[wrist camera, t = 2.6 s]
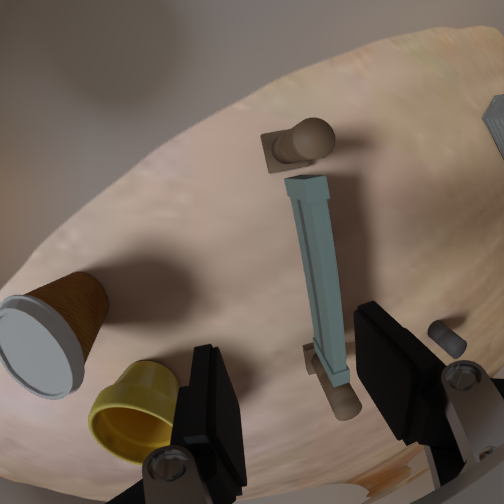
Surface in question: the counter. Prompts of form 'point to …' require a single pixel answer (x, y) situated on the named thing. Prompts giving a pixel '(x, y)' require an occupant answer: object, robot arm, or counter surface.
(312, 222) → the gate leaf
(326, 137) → the gate posts
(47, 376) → the disposable coffee cup
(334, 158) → the counter surface
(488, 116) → the skincare box
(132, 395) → the plant pot
